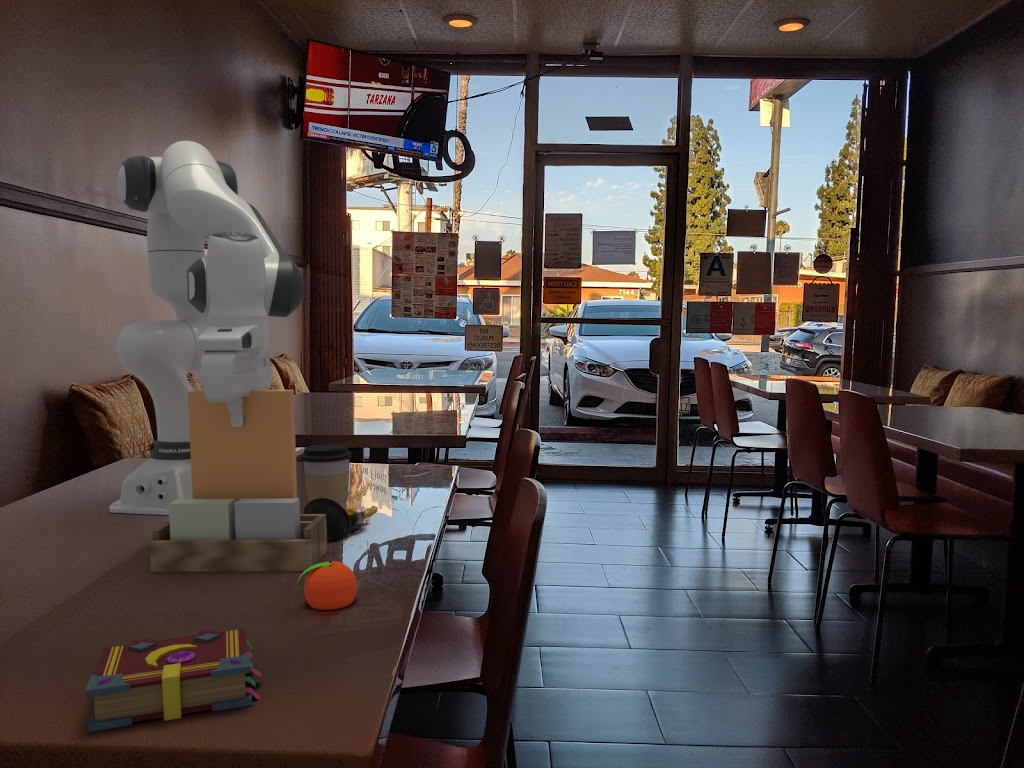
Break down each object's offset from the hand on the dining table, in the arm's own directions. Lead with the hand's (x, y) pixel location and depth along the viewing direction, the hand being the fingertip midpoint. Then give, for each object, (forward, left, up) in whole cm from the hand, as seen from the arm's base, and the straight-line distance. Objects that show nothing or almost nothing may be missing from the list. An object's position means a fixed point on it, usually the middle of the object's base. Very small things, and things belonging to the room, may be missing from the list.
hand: (242, 424), depth 127 cm
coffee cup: (+7, +24, -23) cm, 34 cm away
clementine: (+18, -21, -23) cm, 36 cm away
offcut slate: (+5, -5, -21) cm, 22 cm away
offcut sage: (-5, -5, -21) cm, 22 cm away
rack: (0, -3, -23) cm, 23 cm away
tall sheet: (0, 0, -17) cm, 17 cm away
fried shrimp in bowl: (+12, +15, -23) cm, 30 cm away
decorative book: (+8, -44, -23) cm, 50 cm away
